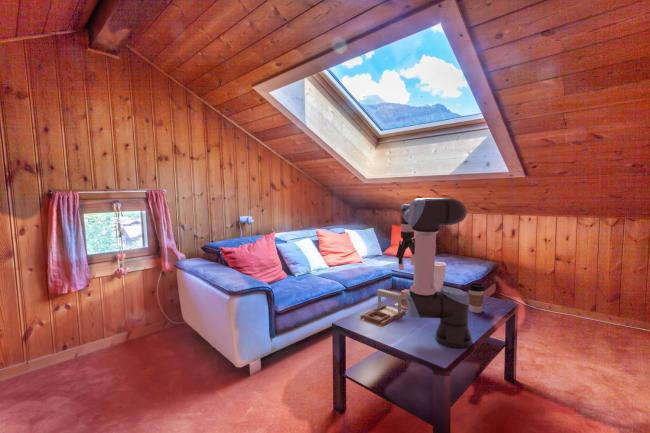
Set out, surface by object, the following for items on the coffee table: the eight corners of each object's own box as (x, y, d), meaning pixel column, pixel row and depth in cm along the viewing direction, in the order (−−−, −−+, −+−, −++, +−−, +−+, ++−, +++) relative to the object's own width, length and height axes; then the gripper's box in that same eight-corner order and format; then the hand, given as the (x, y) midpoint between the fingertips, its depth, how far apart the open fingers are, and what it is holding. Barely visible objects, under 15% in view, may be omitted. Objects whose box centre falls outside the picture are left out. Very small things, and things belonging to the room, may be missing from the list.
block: (408, 306, 187) (408, 293, 187) (400, 304, 191) (400, 291, 190) (412, 304, 191) (412, 290, 190) (405, 302, 195) (405, 289, 194)
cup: (434, 293, 211) (434, 260, 209) (449, 297, 202) (450, 263, 200) (422, 296, 205) (423, 263, 203) (438, 301, 195) (438, 266, 193)
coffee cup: (465, 311, 180) (465, 284, 179) (470, 306, 186) (471, 281, 185) (481, 315, 175) (481, 287, 173) (486, 310, 181) (486, 284, 179)
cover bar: (399, 314, 170) (399, 295, 169) (376, 307, 179) (376, 290, 178) (402, 312, 172) (402, 294, 171) (380, 305, 182) (380, 288, 181)
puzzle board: (380, 330, 158) (380, 323, 158) (357, 322, 168) (357, 315, 167) (408, 314, 176) (408, 308, 176) (386, 308, 186) (386, 302, 186)
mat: (410, 310, 183) (410, 309, 183) (393, 305, 191) (393, 304, 191) (420, 304, 191) (420, 304, 191) (403, 300, 199) (403, 299, 199)
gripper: (412, 228, 199) (412, 262, 200) (389, 232, 181) (389, 270, 183) (424, 229, 193) (423, 264, 195) (401, 234, 176) (401, 272, 177)
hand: (407, 267), depth 189 cm, fingers open, 13 cm apart
